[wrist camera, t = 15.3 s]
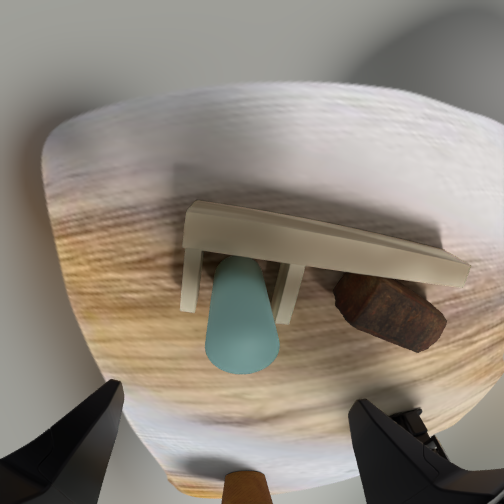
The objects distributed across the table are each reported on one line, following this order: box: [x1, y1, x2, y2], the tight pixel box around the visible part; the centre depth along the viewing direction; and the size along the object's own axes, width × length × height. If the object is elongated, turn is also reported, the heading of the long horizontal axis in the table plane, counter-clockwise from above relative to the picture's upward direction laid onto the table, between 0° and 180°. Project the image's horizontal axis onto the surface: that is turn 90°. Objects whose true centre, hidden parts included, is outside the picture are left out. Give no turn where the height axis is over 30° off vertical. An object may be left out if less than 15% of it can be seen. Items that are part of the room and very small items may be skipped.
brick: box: [333, 272, 447, 353], centre depth 19 cm, size 11×4×5 cm, turn 62°
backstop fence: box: [180, 200, 471, 325], centre depth 18 cm, size 7×22×4 cm, turn 80°
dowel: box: [205, 255, 280, 374], centre depth 16 cm, size 4×4×8 cm
